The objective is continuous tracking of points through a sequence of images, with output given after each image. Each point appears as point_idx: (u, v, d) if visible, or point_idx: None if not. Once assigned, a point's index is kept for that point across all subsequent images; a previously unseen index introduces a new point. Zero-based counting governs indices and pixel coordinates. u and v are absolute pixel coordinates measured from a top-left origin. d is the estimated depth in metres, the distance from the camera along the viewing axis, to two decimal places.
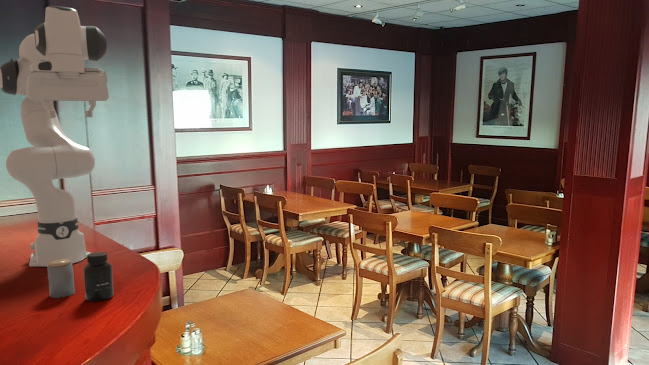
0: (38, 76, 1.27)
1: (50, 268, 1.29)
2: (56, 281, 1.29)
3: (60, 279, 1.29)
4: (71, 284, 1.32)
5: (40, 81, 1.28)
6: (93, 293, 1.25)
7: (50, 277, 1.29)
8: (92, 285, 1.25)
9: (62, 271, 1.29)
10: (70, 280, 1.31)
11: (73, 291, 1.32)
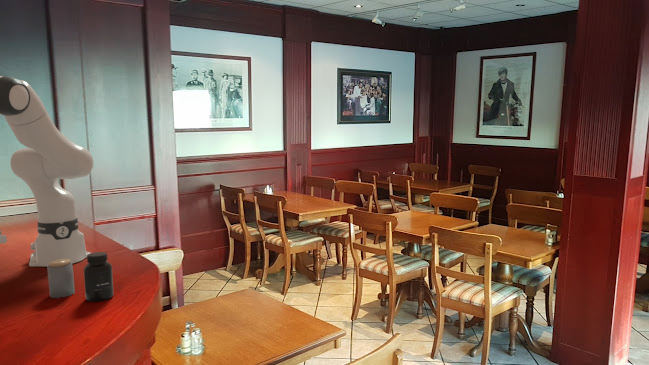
0: None
1: (50, 268, 1.29)
2: (56, 281, 1.29)
3: (60, 279, 1.29)
4: (71, 284, 1.32)
5: None
6: (93, 293, 1.25)
7: (50, 277, 1.29)
8: (92, 285, 1.25)
9: (62, 271, 1.29)
10: (70, 280, 1.31)
11: (73, 291, 1.32)
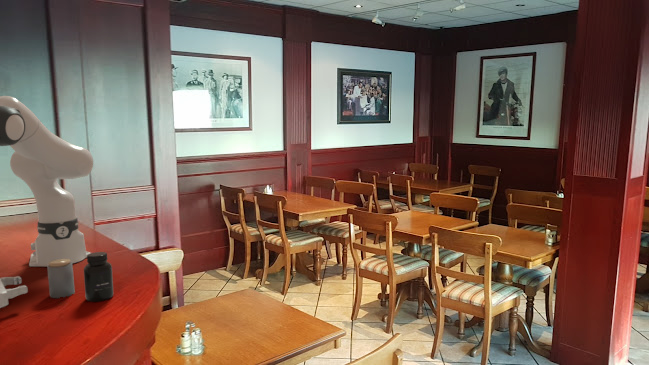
0: None
1: (50, 268, 1.29)
2: (56, 281, 1.29)
3: (60, 279, 1.29)
4: (71, 284, 1.32)
5: None
6: (93, 293, 1.25)
7: (50, 277, 1.29)
8: (91, 285, 1.25)
9: (62, 271, 1.29)
10: (70, 280, 1.31)
11: (73, 291, 1.32)
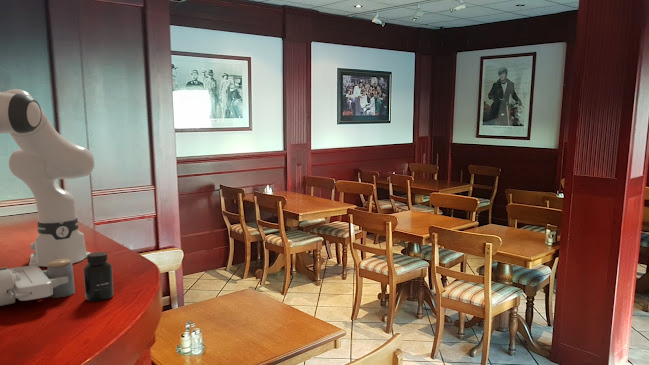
0: None
1: (50, 268, 1.29)
2: None
3: None
4: (71, 284, 1.32)
5: None
6: (93, 293, 1.25)
7: (50, 277, 1.29)
8: (92, 285, 1.25)
9: (62, 271, 1.29)
10: (70, 280, 1.31)
11: (73, 291, 1.32)
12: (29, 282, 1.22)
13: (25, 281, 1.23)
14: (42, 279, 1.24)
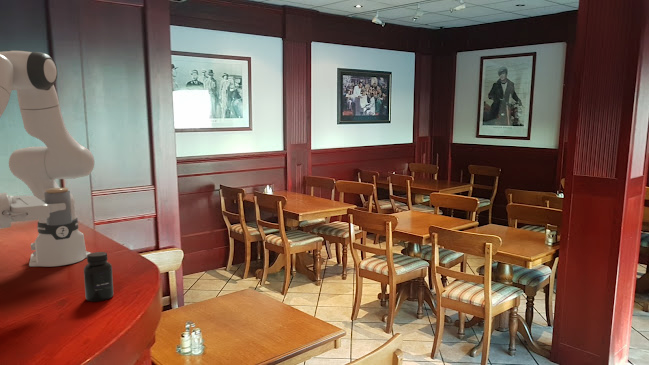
0: None
1: (47, 194, 1.25)
2: None
3: None
4: (69, 213, 1.28)
5: None
6: (93, 293, 1.25)
7: None
8: (92, 285, 1.25)
9: (59, 198, 1.26)
10: (67, 208, 1.28)
11: (71, 220, 1.29)
12: (25, 205, 1.19)
13: (22, 204, 1.20)
14: (38, 202, 1.21)
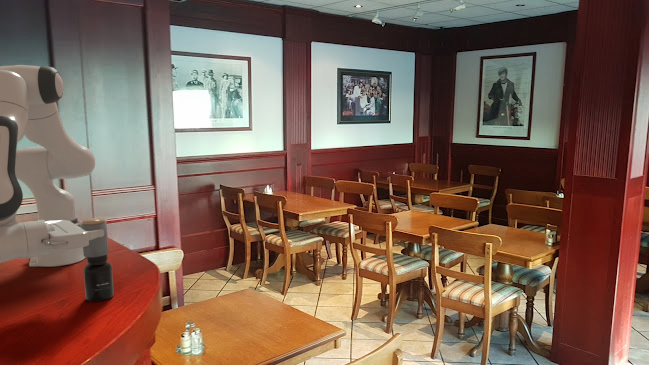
0: None
1: (84, 226, 1.24)
2: None
3: (95, 238, 1.24)
4: (106, 244, 1.27)
5: None
6: (93, 293, 1.25)
7: None
8: (92, 285, 1.25)
9: (96, 229, 1.24)
10: (104, 239, 1.26)
11: (107, 251, 1.28)
12: (64, 232, 1.17)
13: (60, 231, 1.18)
14: (77, 230, 1.19)
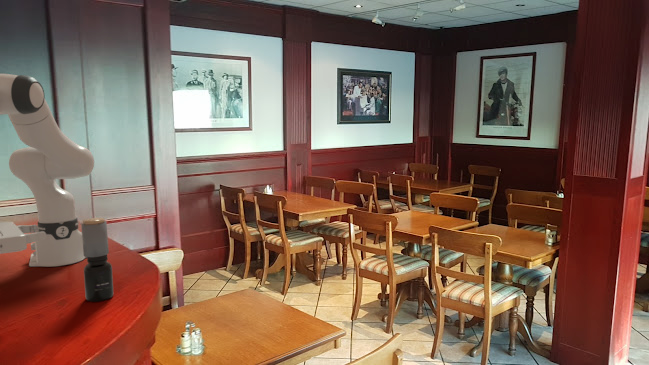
0: None
1: (84, 226, 1.24)
2: (91, 239, 1.24)
3: (95, 238, 1.24)
4: (106, 244, 1.27)
5: None
6: (93, 293, 1.25)
7: (84, 235, 1.24)
8: (92, 285, 1.25)
9: (97, 229, 1.24)
10: (104, 239, 1.26)
11: (107, 251, 1.28)
12: (0, 235, 1.10)
13: None
14: (15, 232, 1.11)
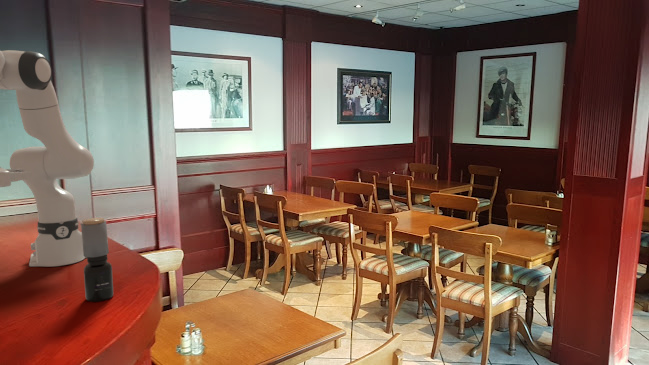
0: None
1: (84, 226, 1.24)
2: (91, 239, 1.24)
3: (95, 238, 1.24)
4: (106, 244, 1.27)
5: None
6: (93, 293, 1.25)
7: (84, 235, 1.24)
8: (92, 285, 1.25)
9: (96, 229, 1.24)
10: (104, 239, 1.26)
11: (107, 251, 1.28)
12: None
13: None
14: None
